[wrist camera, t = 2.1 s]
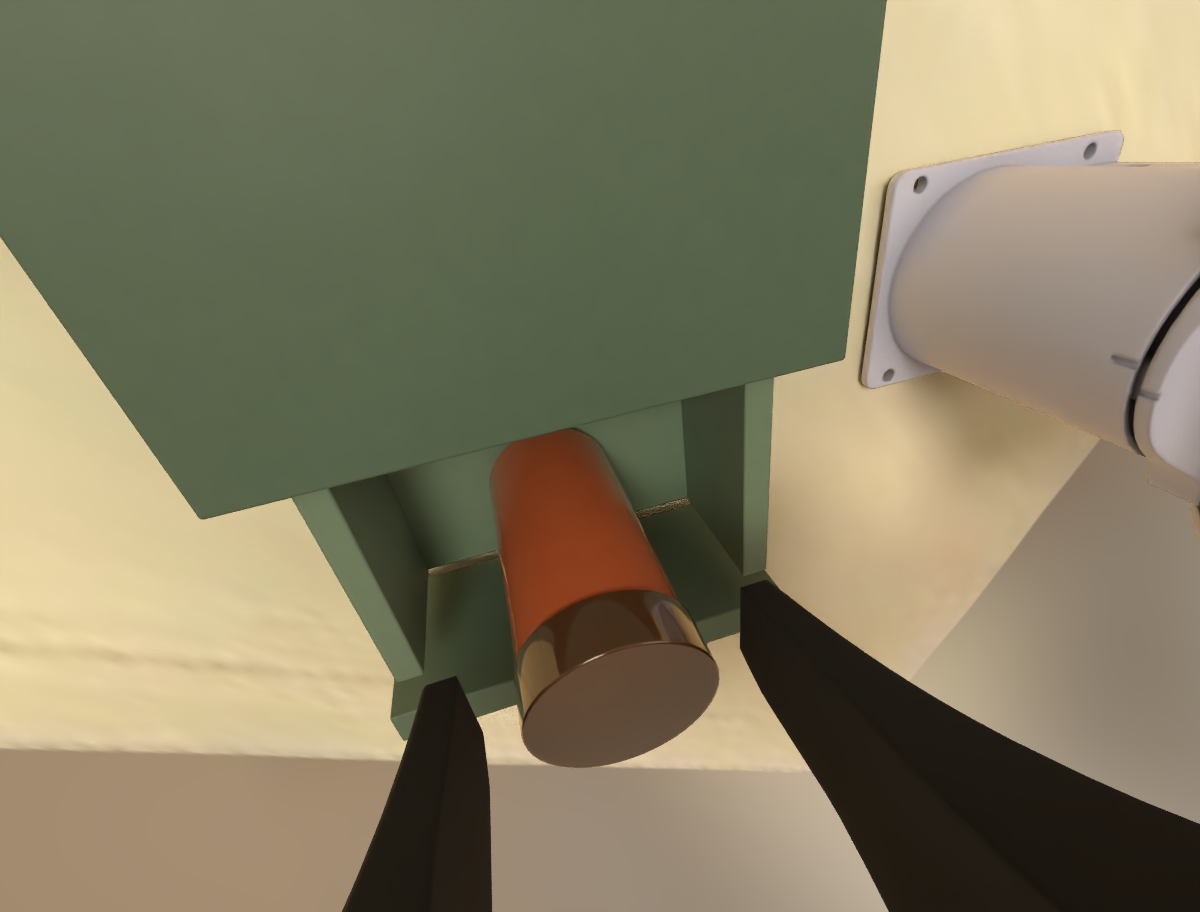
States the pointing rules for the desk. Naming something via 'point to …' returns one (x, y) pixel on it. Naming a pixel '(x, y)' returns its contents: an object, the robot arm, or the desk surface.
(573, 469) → the spice jar
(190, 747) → the desk surface
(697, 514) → the drawer
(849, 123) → the cabinet
